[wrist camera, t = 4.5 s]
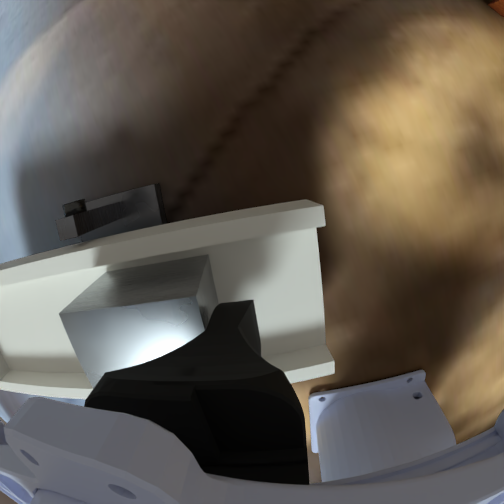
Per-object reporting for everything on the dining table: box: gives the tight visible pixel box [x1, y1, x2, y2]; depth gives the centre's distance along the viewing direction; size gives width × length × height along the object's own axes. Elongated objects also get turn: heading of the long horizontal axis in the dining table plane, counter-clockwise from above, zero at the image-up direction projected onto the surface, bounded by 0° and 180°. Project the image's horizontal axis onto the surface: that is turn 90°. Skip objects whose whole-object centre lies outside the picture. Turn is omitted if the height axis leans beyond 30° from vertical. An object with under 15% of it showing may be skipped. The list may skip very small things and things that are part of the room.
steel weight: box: [59, 254, 219, 389], centre depth 11 cm, size 5×5×4 cm
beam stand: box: [56, 183, 167, 242], centre depth 15 cm, size 6×12×6 cm, turn 9°
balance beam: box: [0, 199, 335, 399], centre depth 13 cm, size 22×8×3 cm, turn 99°
